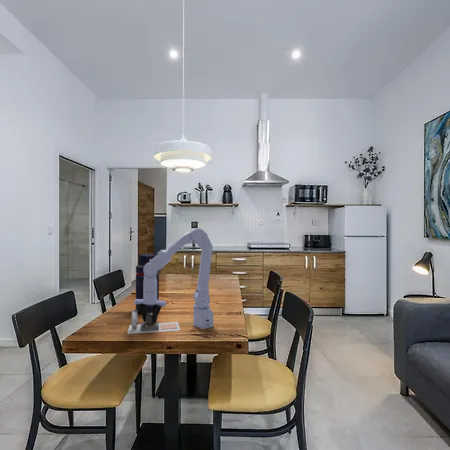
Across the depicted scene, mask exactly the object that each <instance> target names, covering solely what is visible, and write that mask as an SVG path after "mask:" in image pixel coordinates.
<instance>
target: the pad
mask: <svg viewBox="0 0 450 450" xmlns="http://www.w3.org/2000/svg"><path fill="white" fill-rule="evenodd" d="M164 329H177V324H176V323H172V324H161V330H164Z"/></svg>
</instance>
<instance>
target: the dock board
mask: <svg viewBox="0 0 450 450" xmlns="http://www.w3.org/2000/svg"><path fill="white" fill-rule="evenodd" d="M172 323H176V324H177V329H164V330H161V324H172ZM176 331H177V332H178V331H181V329H180V324H179V322H178V321H172V322H171V321H170V322H159V321H158V320H157V322H155V326H145V322H144V321H143V322H141V323H140V324H139V323H138V324H137V329H132V324H129V327H128V329H127V335H130V334H131V335H132V334H147V333H161V332H163V333H164V332H176Z"/></svg>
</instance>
